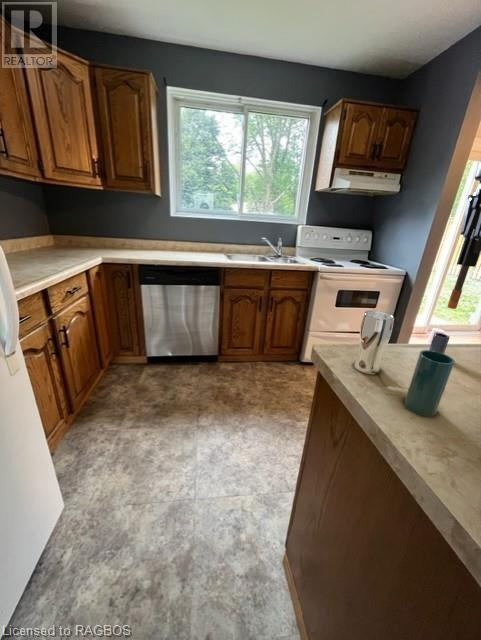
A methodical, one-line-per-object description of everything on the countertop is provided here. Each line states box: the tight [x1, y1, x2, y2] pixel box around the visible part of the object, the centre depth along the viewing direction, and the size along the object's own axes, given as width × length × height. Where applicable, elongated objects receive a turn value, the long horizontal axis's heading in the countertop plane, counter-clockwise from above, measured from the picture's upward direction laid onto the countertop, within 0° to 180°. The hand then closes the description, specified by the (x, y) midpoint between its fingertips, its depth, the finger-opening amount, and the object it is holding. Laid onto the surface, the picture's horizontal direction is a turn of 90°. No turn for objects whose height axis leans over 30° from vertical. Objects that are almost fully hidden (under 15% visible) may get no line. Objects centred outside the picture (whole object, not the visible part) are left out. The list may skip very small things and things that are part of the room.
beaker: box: [404, 349, 456, 417], centre depth 55 cm, size 6×6×12 cm
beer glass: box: [354, 310, 395, 375], centre depth 69 cm, size 7×7×15 cm
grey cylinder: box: [428, 332, 451, 354], centre depth 78 cm, size 4×4×7 cm
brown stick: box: [446, 230, 475, 310], centre depth 69 cm, size 2×2×20 cm
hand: (465, 265), depth 69 cm, fingers closed on brown stick, 2 cm apart
